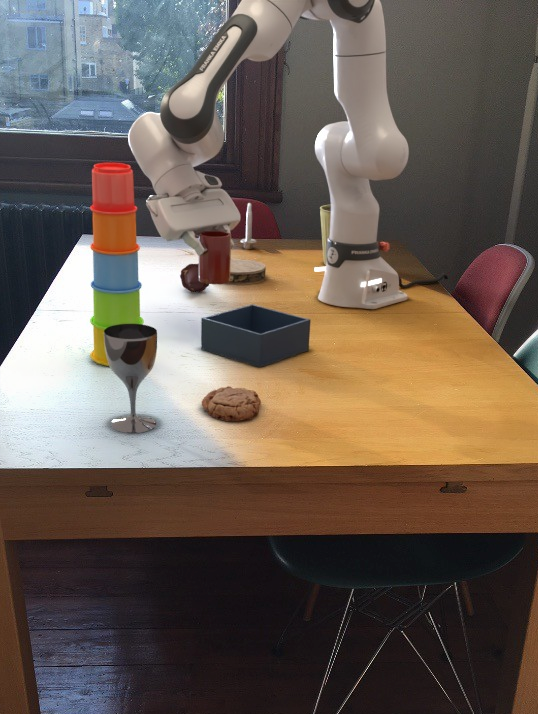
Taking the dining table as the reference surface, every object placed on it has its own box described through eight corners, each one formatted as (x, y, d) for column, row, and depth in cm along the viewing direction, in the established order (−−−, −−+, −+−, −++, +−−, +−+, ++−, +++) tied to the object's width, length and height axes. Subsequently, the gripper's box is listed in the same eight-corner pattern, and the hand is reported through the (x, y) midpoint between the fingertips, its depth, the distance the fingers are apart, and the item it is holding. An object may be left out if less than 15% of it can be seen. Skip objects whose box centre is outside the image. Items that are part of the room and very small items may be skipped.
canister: (218, 275, 178) (219, 229, 174) (236, 282, 174) (237, 235, 170) (192, 278, 175) (192, 232, 171) (209, 285, 171) (210, 238, 166)
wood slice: (276, 276, 230) (277, 264, 228) (243, 287, 218) (244, 275, 216) (226, 267, 237) (226, 255, 236) (191, 277, 225) (191, 265, 224)
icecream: (209, 272, 203) (217, 264, 217) (179, 262, 203) (189, 255, 216) (201, 301, 206) (210, 291, 219) (171, 291, 205) (182, 282, 219)
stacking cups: (154, 354, 169) (150, 162, 153) (130, 370, 160) (124, 169, 144) (106, 347, 172) (97, 158, 155) (80, 362, 163) (68, 164, 147)
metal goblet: (109, 414, 141) (105, 323, 134) (159, 414, 142) (157, 323, 135) (106, 434, 134) (101, 338, 127) (158, 434, 135) (156, 339, 128)
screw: (254, 250, 257) (238, 249, 258) (257, 247, 262) (241, 246, 262) (256, 204, 251) (239, 203, 252) (259, 201, 255) (242, 200, 256)
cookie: (216, 425, 139) (217, 407, 137) (193, 402, 147) (193, 385, 146) (273, 418, 143) (274, 400, 141) (248, 395, 151) (248, 379, 150)
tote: (251, 333, 183) (252, 304, 180) (308, 350, 175) (310, 319, 172) (201, 349, 173) (201, 317, 170) (259, 367, 164) (261, 334, 161)
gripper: (150, 185, 163) (188, 248, 162) (224, 177, 177) (259, 234, 176) (134, 207, 167) (171, 268, 166) (208, 197, 181) (242, 253, 180)
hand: (217, 250), depth 171 cm, fingers closed on canister, 6 cm apart
